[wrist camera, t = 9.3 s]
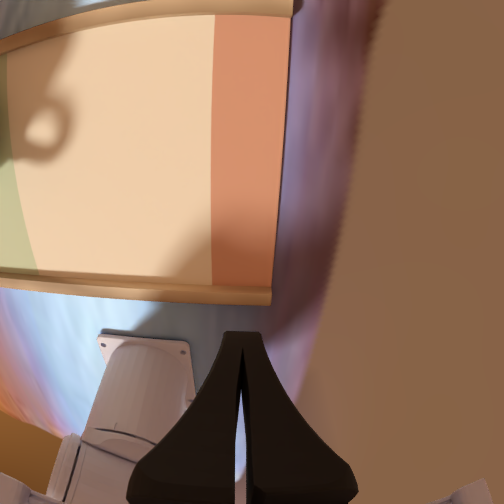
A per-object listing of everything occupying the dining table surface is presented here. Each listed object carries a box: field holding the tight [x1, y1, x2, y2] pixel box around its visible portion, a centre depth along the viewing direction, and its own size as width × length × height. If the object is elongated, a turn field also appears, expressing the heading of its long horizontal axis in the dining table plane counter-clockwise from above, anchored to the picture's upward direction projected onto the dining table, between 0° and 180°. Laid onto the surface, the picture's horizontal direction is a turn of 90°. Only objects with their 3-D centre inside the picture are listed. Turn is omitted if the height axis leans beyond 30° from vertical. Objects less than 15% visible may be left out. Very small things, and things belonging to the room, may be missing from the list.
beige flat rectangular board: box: [0, 0, 293, 306], centre depth 17 cm, size 19×33×1 cm, turn 88°
